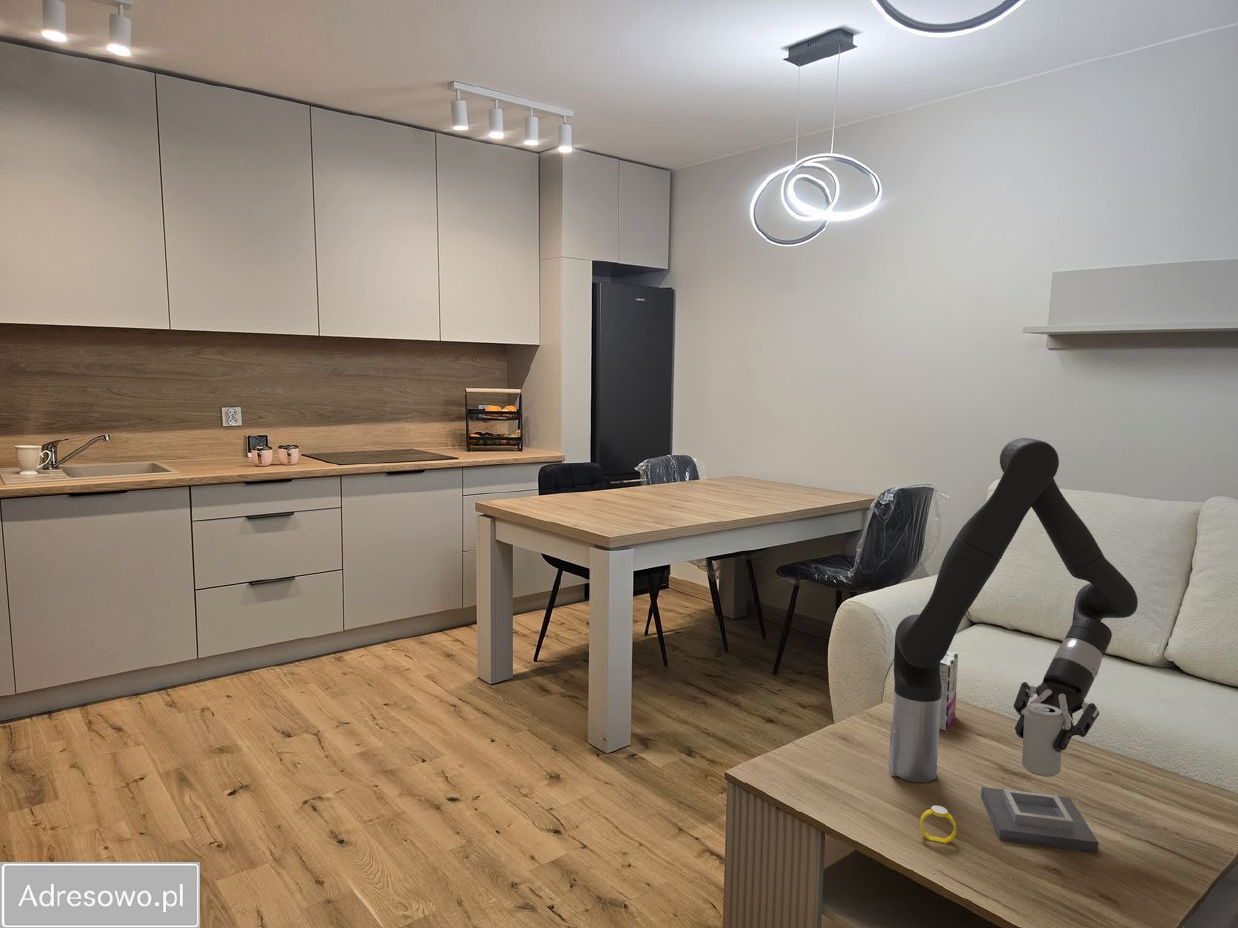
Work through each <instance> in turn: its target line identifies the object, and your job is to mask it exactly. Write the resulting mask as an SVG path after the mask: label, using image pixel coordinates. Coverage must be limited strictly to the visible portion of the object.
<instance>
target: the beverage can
mask: <svg viewBox="0 0 1238 928" xmlns="http://www.w3.org/2000/svg"><path fill="white" fill-rule="evenodd" d="M1044 707H1046V708H1044ZM1047 708H1051V709H1054V710H1055V712H1049V711H1050V710H1049V709H1047ZM1061 713H1062V712H1061V710H1060V709H1058V708H1057V707H1054V706H1051V705H1048V704H1042V703H1032V704H1030V703H1028V704H1027V710H1026V711H1025V715H1024V733H1023V740H1022V752H1021V753H1022V754H1021V755H1022V756H1021V764H1022V767H1023V768H1025V771H1027V772H1029V773H1030V774H1032V775H1035V776H1040V777H1045V778H1047V777H1048V778H1050V777H1051V778H1052V777H1054V776H1056V775H1058V774H1060V773H1061V767H1062V766H1061V764H1062V753H1063V750H1062V751H1061V752H1057V751H1056V750H1055V749H1054V747H1053V744H1054V742H1055V740H1056V738H1057V736H1058V734H1059V732H1060V730H1061V729H1063V728H1064V727H1063V717H1062V716H1061Z"/></svg>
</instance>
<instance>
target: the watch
mask: <svg viewBox="0 0 1238 928" xmlns="http://www.w3.org/2000/svg"><path fill="white" fill-rule="evenodd" d="M930 815H934V816H936V817H938V818H939V817H940V818H947V819H948V820H949V821H950V822H951V824H952V826H953V829H952V832H951V834H950V835H948V836H947V837H939V836H934V835H930V834H929V833H928V832H927V831H926V830H925V827H924V823H923V822H924V821H925V819H926V818H927V817H928V816H930ZM919 821H920V822H919V829H920V831H921V834H922V835H923V837H924V838H926V839H927V840H928V841H930V842H937V843H940V844H944V845H947V844H949V843H950V842H952V841H953V840H954V839H955V837H956V835H957V824H956V821H955V819H954V817H953V816H952V814H950V813H949V811H948V809H947V808H946V807H943V806H941V805H933V806H931V808H930V809H927V810H925V811H924V812H923V813H922V814H921V816H920V820H919Z"/></svg>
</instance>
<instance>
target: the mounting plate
mask: <svg viewBox="0 0 1238 928" xmlns="http://www.w3.org/2000/svg"><path fill="white" fill-rule="evenodd" d="M980 798H981V800H982V802H983V805H984V807H985V809H986V811H987V814H988V816H989V819H990V822H991V824H992V825H993V828H994V830H995V833H996V835H997V837H998V839H999V841H1005V842H1013V843H1020V844H1026V845H1033V846H1035V845H1036V846H1041V847H1042V846H1043V847H1049V848H1050V847H1051V848H1056V849H1065V850H1071V851H1072V850H1073V851H1080V852H1085V853H1086V852H1088V853H1094V854H1099V845H1100V843H1099V840H1098V839H1097V838H1096V836H1095V834H1094V833H1093V831H1092V830H1091V827H1089V824H1088V823H1087V822H1086V821H1085V819H1084V817H1083V816H1082V814H1081V812H1080V811H1079V809H1078V808H1077V807H1076V804H1075V803H1074V801H1073V800H1072V799H1071V797H1067V796H1060V795H1055V794H1046V793H1040V792H1032V791H1030V792H1029V791H1022V790H1021V791H1020V790H1014V789H1006V788H1003V789H1001V788H994V787H986V786H985V787H984V786H981V791H980Z"/></svg>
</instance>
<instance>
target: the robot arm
mask: <svg viewBox="0 0 1238 928" xmlns="http://www.w3.org/2000/svg"><path fill="white" fill-rule="evenodd" d="M999 465H1000V469H1001V471H1002V472H1003V473H1002V476H1001V478H1000V479H999V482H998V483H997V486H996V488H995V489H994V491H993V492H992V494H991V495H990V497H989V498H988V500H987V501H986V502H985V503H984V504H983V505H981V507H980V508H979V509H978V510H977V511H976V512H975V513H974V514H973V515H972V516H971V517H970V518H969V519H968V520H967V521H966V522H965V524H963V526H962V528H961V529H960V531H958V533H957V535H956V536H955V538H954V539H953V541H952V543H951V545H950V546H949V548H948V549H947V552H946V554H945V555H944V558H943V561H942V562H941V565H940V567H939V571H938V574H937V578H936V581H935V585H934V587H933V591H932V593H931V595H930V598H929V600H927V603H926V605H925V606H924V608H923V609H922V610H921V612H920V614H917V613H916V614H911V615H908V616H906V617H904V618H903V619H902V620H901V621H900V622H899V623H898V625H897V627H896V631H895V636H894V653H893V679H894V686H893V687H894V689H893V690H894V691H893V705H892V706H893V707H892V708H893V710H892V721H890V737H889V756H888V766H889V770H890V775H891V777H896V776H898V777H897V778H899V777H900V779H902V780H905V781H908V782H913V783H930V782H933V781H934V780H936V778H937V771H938V757H939V738H940V736H939V735H940V730H939V724H940V708H941V692H942V684H941V678H940V661H941V660H942V659H943V658H944V657H945V655H946V653H947V651H949V649H950V646H951V644H952V642H953V639H954V637H955V636H956V633H957V631H958V629H959V627H960V624H961V623H962V621H963V619H964V618H965V615H966V613H967V612H968V611H969V609H970V607H972V605H973V603H974V602H975V601H976V600H977V597H978V596H979V594H980V593H981V591H982V589H983V587H985V585H986V583H987V581H989V579H990V577H991V575H992V574H993V573H994V571H995V569H996V568H997V566H998V564H999V563H1000V561H1001V560H1002V559H1003V556H1004V554H1005V552H1006V550H1007V549H1008V547H1009V545H1010V544H1011V542H1012V540H1013V538H1014V537H1015V536H1016V534H1017V531H1018V530H1019V528H1020V526H1021V524H1022V522H1023V520H1024V519H1025V516H1026V515H1027V514H1028V512H1029V511H1030V510H1031V509H1032V510H1033V511H1034V513H1035V514H1036V516H1037V518H1038V520H1039V522H1040V523H1041V526H1042V527H1043V528H1044V530H1045V532H1046V534H1047V536H1048V537H1049V540H1050V541H1051V543H1052V545H1053V546H1054V548H1055V551H1056V552H1057V554H1058V556H1059V557H1060V559H1061V561H1062V562H1063V564H1064V566H1065V568H1066V570H1067V572H1068V573H1069V574H1070V575H1071V576H1072V577H1073V578H1074V579H1076V580H1077V579H1078V580H1082V581H1086V582H1088V583H1087V584H1085V585H1083V587H1081V588H1080V589H1079V591H1077V593H1076V596H1075V599H1074V601H1075V602H1074V605H1073V607H1074V609H1073V615H1072V623H1071V626H1070V627H1069V630H1068V631H1067V633H1066V634H1065V635H1066V636H1065V637H1064V640H1063V641H1062V642H1061V645H1059V647H1058V648H1057V650H1056V653H1054V656H1053V658H1052V659H1051V663H1049V664H1050V665H1049V666H1048V668H1047V670H1046V673H1045V674H1044V676H1043V680H1042V682H1041V683H1040V684H1039V685H1038V686H1034V685H1029V683H1028V682H1027V681H1024V682H1022V683H1021V684H1020V687H1019V689H1018V693H1017V695H1016V698H1015V701H1014V704H1013V709H1014V710H1015V711H1016V713H1017V715H1019V718H1018V719H1017V722H1016V725H1014V731H1015V733H1016V735H1017V737H1018V738H1020V739H1023V733H1024V715H1025V711H1026V710H1027V705H1029V704H1032V703H1042V704H1048V705H1051V706H1054V707H1057V708H1058V709H1060V710H1061V712H1062V713H1061V716H1062V717H1063V729H1061V730H1060V732H1059V734H1058V736H1057V738H1056V740H1055V742H1054V744H1053V747H1054V749H1055V750H1056V751H1057V752H1061V751H1062V752H1063V751H1065V750H1066V749H1067V747H1068V746H1069V743H1070V741H1071V740H1072V738H1073V737H1074V736H1079V737H1081V738H1085V737H1086V736H1087V735H1088V733H1089V731H1090V730H1091V729H1092V727H1093V725H1094V723H1095V721H1096V720H1097V719H1098V717H1099V715H1100V711H1099V708H1098V707H1097V705H1096V704H1095V703H1093V702H1090V703H1088V702H1085V699H1086V698H1087V696H1088V694H1089V692H1090V689H1091V687H1092V685H1093V684H1094V681H1095V679H1096V677H1097V676H1098V673H1099V670H1100V668H1101V665H1102V660H1103V658H1104V656H1105V654H1106V652H1107V650H1108V648H1109V646H1110V643H1111V641H1112V636H1113V634H1112V630H1111V629H1110V627H1109V626H1108V625H1107V624H1105V623H1104V622H1102V620H1104V619H1123V618H1124V619H1125V618H1129V617H1132V616H1133V615H1134V614H1135V613H1136V611H1137V610H1138V605H1139V602H1138V595H1137V593H1136V591H1135V588H1134V587H1133V586H1132V584H1131V583H1130V582H1129V581H1128V579H1127V578H1125V576H1124V575H1123V574H1122V573H1121V572H1120V571H1119V570H1118V569H1117V568H1116V567H1115V566H1114V564H1112V563H1111V562H1110V561H1109V560H1108V559H1107V558H1106V557H1105V555H1104V553H1103V551H1102V550H1101V548H1100V547H1099V545H1098V543H1097V541H1096V539H1095V537H1094V535H1093V534H1092V533H1091V531H1090V529H1089V527H1087V524H1085V523H1084V521H1083V520H1082V519H1081V517H1080V516H1079V515H1078V514H1077V512H1076V511H1075V510H1074V509H1073V507H1072V506H1071V505H1070V503H1069V502H1068V501H1067V499H1066V498H1065V497H1064V495H1063V493H1062V492H1061V490H1060V488H1059V487H1058V484H1057V483H1056V481H1055V476H1056V475H1057V473H1058V469H1059V465H1060V459H1059V454H1058V453H1057V451H1056V449H1055V447H1054V446H1053V445H1051V444H1050V443H1048V442H1046V441H1043V440H1040V439H1034V438H1029V437H1021V438H1016V439H1013V440H1011V441H1009V442H1007V443H1006V445H1004V447H1003V448H1002V449H1001V452H1000V455H999ZM1034 695H1037V697H1036V698H1034V699H1033V700H1031V701H1030V698H1031V699H1032V698H1033V697H1034ZM1029 701H1030V702H1029ZM1044 708H1046V707H1044ZM1047 709H1049V710H1050V711H1049V712H1055V710H1054V709H1051V708H1047ZM1081 710H1082V714H1081V716H1080V717H1079V719H1078V720H1077V721H1076V722H1077V723H1076V724H1075V722H1074V714H1075V713H1076V712H1078V711H1081Z"/></svg>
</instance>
